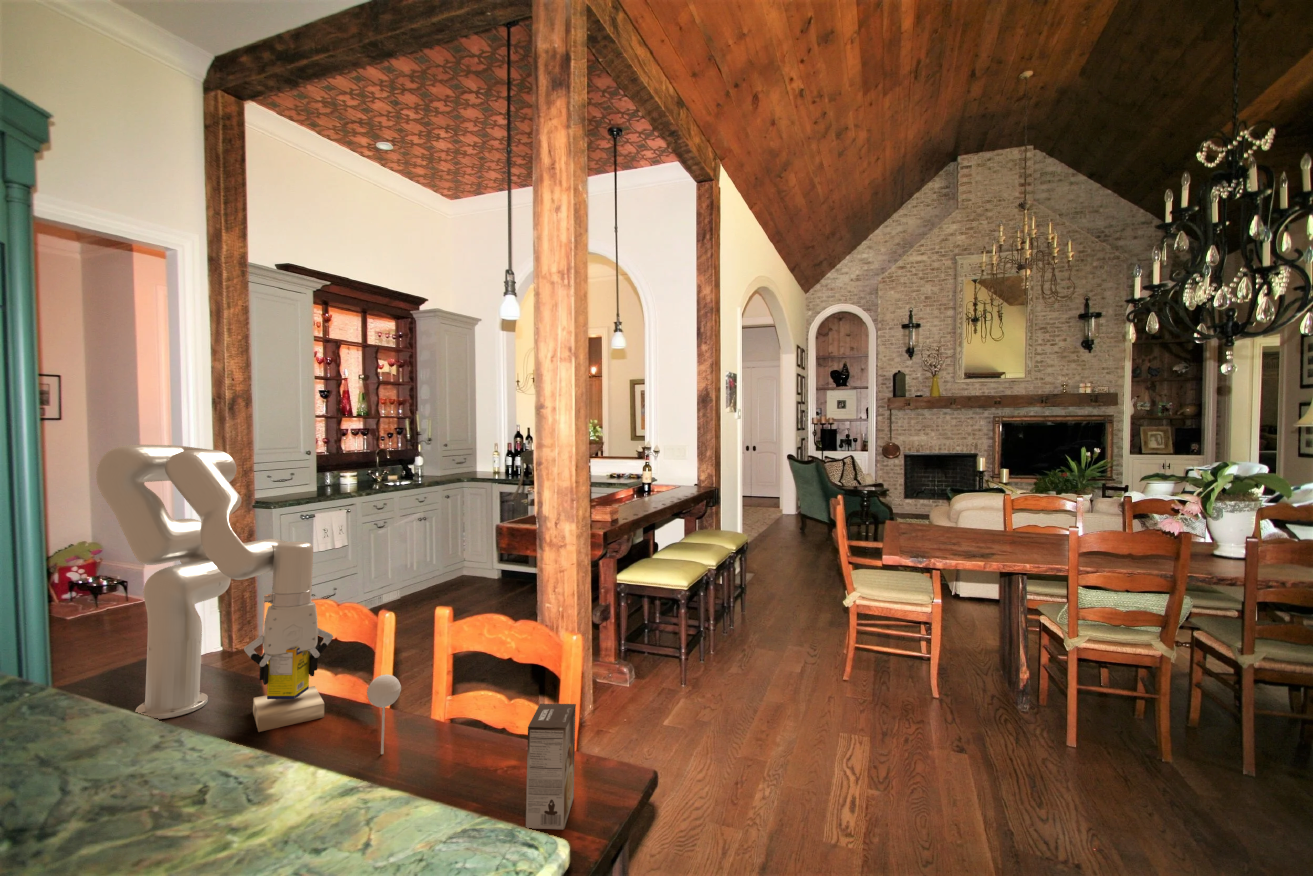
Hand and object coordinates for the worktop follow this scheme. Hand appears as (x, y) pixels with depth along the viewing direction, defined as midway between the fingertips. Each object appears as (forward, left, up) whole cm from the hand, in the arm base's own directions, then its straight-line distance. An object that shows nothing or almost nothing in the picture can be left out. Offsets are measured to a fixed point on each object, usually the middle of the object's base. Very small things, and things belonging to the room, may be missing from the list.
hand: (288, 678), depth 134 cm
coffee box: (+66, +29, -8) cm, 73 cm away
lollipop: (+30, +12, -8) cm, 34 cm away
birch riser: (0, 0, -8) cm, 8 cm away
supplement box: (0, 0, -4) cm, 4 cm away
